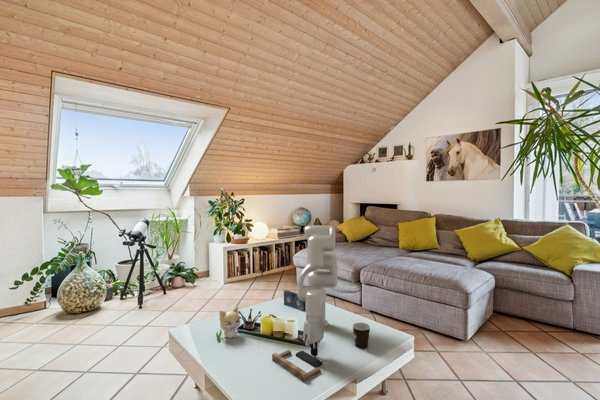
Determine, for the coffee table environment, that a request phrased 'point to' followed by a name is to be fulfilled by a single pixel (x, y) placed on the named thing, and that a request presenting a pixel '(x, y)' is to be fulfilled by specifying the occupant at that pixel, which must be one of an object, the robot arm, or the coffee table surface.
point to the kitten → (229, 323)
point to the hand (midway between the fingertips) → (314, 355)
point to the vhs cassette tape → (294, 301)
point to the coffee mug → (361, 335)
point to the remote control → (309, 359)
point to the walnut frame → (293, 366)
